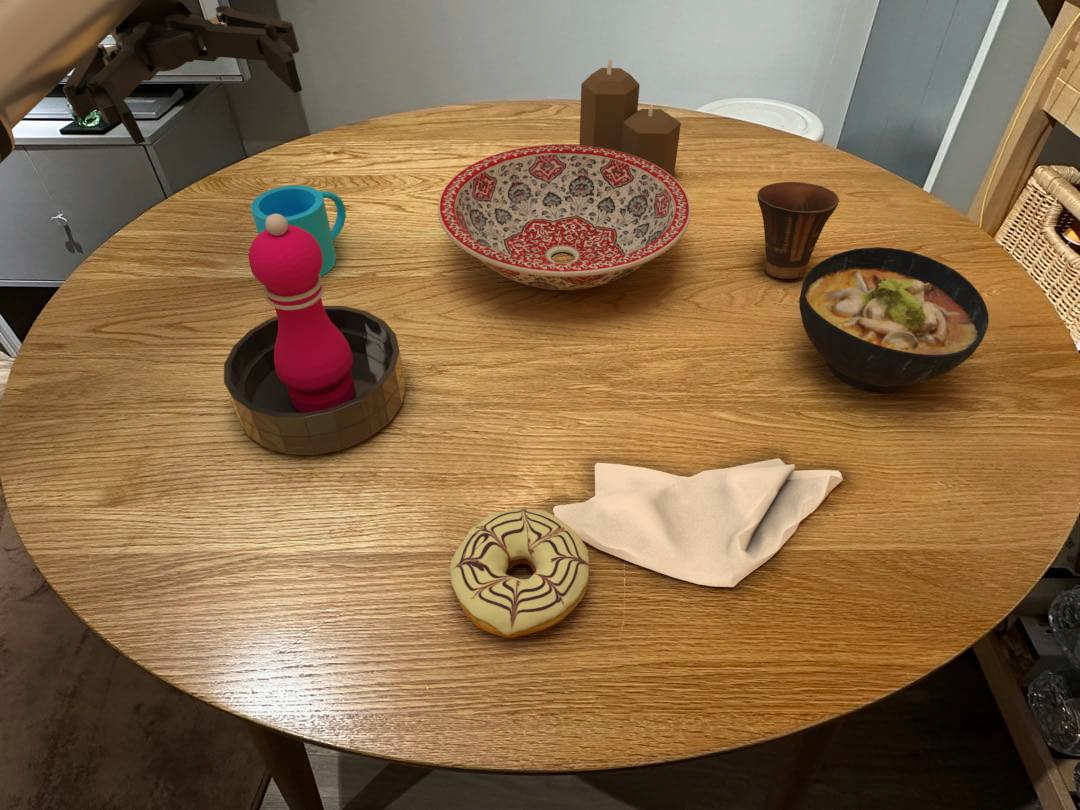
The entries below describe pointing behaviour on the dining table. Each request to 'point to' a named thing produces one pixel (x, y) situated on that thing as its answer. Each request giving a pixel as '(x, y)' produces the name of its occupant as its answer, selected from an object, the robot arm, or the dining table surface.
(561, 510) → the cloth
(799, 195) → the cup
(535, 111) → the dining table surface
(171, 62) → the robot arm
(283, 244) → the pepper mill
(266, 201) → the mug
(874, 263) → the bowl
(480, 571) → the decorated donut
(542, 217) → the ceramic bowl
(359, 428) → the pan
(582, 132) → the candle
